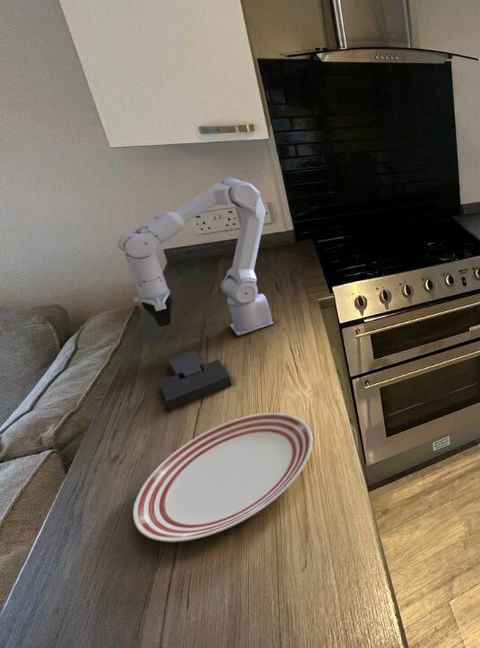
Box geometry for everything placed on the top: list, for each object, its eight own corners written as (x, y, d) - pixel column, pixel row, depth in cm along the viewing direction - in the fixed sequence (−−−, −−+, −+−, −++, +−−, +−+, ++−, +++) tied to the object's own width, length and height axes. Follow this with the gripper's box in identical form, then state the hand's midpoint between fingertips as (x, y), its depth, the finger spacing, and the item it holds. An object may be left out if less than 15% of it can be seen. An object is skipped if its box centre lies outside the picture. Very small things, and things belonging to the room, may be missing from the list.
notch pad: (221, 367, 113) (218, 359, 112) (231, 384, 106) (229, 376, 105) (161, 389, 104) (158, 381, 104) (169, 410, 98) (166, 401, 97)
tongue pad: (195, 358, 116) (192, 349, 115) (209, 376, 109) (206, 367, 108) (170, 367, 112) (167, 359, 111) (183, 387, 105) (180, 378, 104)
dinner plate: (120, 589, 64) (113, 574, 63) (152, 459, 86) (147, 446, 84) (324, 499, 78) (321, 486, 76) (307, 407, 99) (304, 395, 98)
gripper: (123, 274, 111) (141, 320, 116) (131, 292, 102) (149, 341, 107) (159, 265, 116) (174, 310, 121) (169, 282, 107) (185, 330, 111)
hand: (165, 324), depth 114 cm, fingers closed
